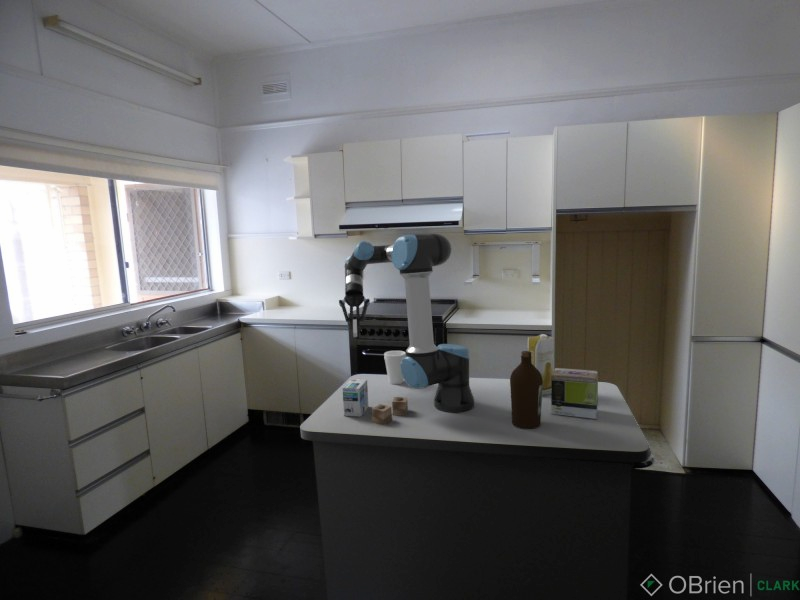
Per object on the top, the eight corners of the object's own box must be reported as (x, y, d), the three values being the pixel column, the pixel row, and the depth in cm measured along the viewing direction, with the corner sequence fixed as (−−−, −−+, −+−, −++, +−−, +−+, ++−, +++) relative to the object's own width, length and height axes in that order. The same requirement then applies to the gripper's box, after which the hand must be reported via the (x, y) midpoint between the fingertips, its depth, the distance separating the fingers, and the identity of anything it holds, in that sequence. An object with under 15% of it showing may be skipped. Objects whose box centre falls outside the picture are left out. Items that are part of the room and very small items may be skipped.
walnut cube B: (391, 419, 171) (391, 405, 170) (383, 424, 167) (383, 410, 166) (380, 417, 174) (379, 403, 173) (372, 422, 169) (371, 408, 169)
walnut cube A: (407, 409, 180) (407, 396, 179) (406, 415, 175) (405, 401, 174) (394, 409, 180) (393, 396, 179) (392, 414, 175) (392, 401, 174)
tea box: (597, 409, 173) (598, 370, 171) (596, 420, 164) (597, 378, 162) (554, 404, 179) (554, 366, 177) (550, 414, 170) (550, 374, 168)
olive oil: (510, 429, 159) (509, 355, 156) (510, 416, 170) (510, 347, 166) (543, 431, 157) (544, 356, 153) (541, 418, 167) (542, 348, 164)
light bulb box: (361, 417, 174) (359, 388, 173) (343, 416, 176) (341, 387, 174) (369, 406, 184) (367, 379, 183) (352, 405, 186) (350, 378, 184)
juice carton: (539, 398, 187) (539, 337, 183) (524, 392, 193) (524, 334, 190) (556, 393, 191) (556, 334, 188) (541, 387, 198) (541, 330, 194)
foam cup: (387, 378, 217) (386, 350, 215) (407, 378, 216) (406, 350, 214) (383, 385, 208) (382, 356, 206) (405, 385, 207) (404, 356, 205)
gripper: (369, 292, 207) (372, 339, 193) (339, 293, 206) (339, 340, 192) (369, 281, 201) (371, 329, 187) (337, 282, 200) (337, 330, 186)
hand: (355, 335), depth 189 cm, fingers closed
